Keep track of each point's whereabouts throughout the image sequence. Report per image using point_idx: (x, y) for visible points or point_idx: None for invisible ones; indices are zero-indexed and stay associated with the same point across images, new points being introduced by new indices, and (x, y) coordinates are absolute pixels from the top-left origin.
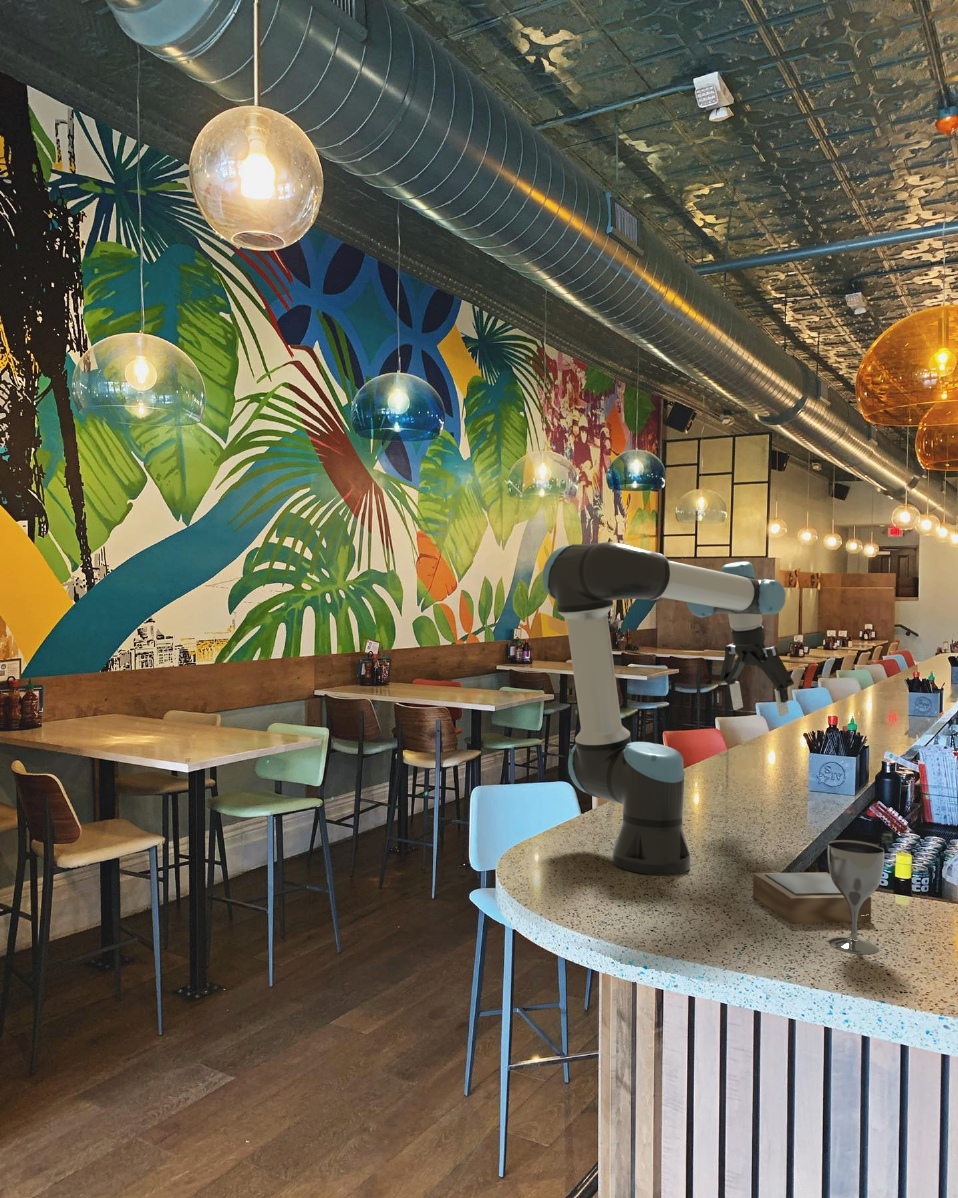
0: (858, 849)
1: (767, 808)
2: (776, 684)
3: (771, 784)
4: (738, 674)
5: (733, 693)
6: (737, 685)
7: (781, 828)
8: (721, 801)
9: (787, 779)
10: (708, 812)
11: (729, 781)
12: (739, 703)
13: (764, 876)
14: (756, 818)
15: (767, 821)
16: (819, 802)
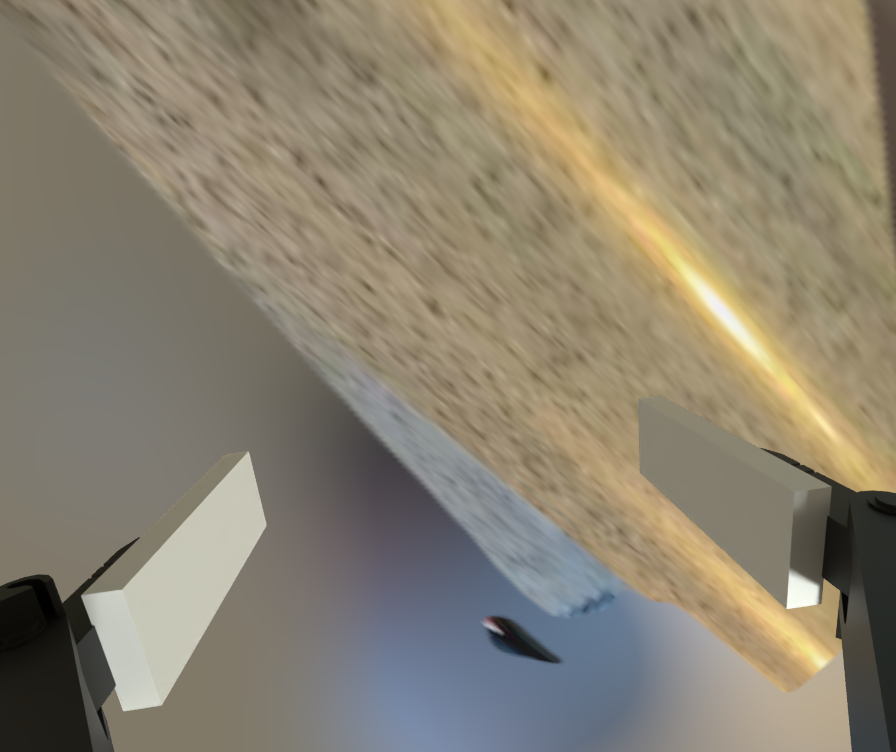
0: None
1: (550, 409)
2: (26, 663)
3: (708, 562)
4: (849, 683)
5: (722, 453)
6: (763, 557)
7: (365, 290)
8: (663, 356)
9: (717, 610)
10: (591, 226)
11: None
12: (658, 459)
13: None
14: (479, 307)
15: (442, 311)
16: (540, 541)
